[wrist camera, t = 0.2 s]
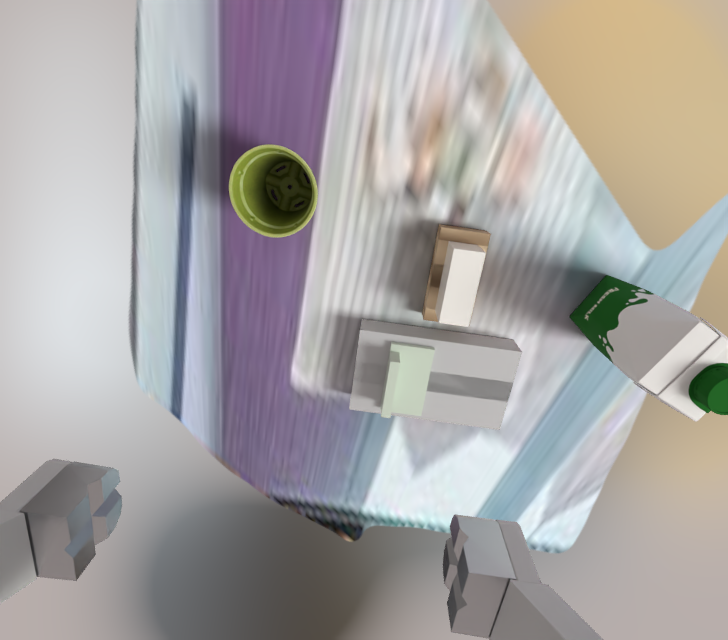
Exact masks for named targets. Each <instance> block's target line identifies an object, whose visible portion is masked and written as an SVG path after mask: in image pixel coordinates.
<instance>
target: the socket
mask: <svg viewBox="0 0 728 640" xmlns="http://www.w3.org/2000/svg"><path fill="white" fill-rule="evenodd" d="M391 342H399V343H406V344H413V345H421V346H428V347H434V348H435V352H434V357H433V361H432V366H431V371H430V376H429V381H428V386H427V390H426V395H425V400H424V405H423V410H422V415H421V416H415V415H408V414H401V413H393V412H391V415H394V416H402V417H409V418H416V419H423V420H431V421H438V422H445V423H453V424H460V425H467V426H474V427H482V428H489V429H496V430H500V427H501V423H502V420H503V416H504V413H505V409H506V406H507V402H508V399H509V396H510V392H511V389H512V385H513V382H514V378H515V375H516V371H517V368H518V364H519V361H520V357H521V354H522V351H521V350H520V348H519V347H518V346H517V344H516V343H515V341H514V340H512V339H505V338H498V337H490V336H483V335H476V334H469V333H461V332H454V331H447V330H439V329H432V328H425V327H418V326H410V325H403V324H396V323H389V322H381V321H374V320H367V319H362V320H361V327H360V334H359V341H358V348H357V356H356V363H355V371H354V378H353V385H352V393H351V400H350V407H349V409H351V410H358V411H365V412H372V413H380V414H381V411H380V407H381V400H382V394H383V388H384V382H385V376H386V370H387V364H388V358H389V352H390V346H391Z"/></svg>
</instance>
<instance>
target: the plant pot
mask: <svg viewBox="0 0 728 640" xmlns="http://www.w3.org/2000/svg"><path fill="white" fill-rule="evenodd" d="M281 166H286V168H284V169H282V170H280V171H279V172H276V170H277V169H278V168H280V167H281ZM303 173H305V174H306V175H307V176H308V178H309V180H310V183H309V184H308V183H307V180H306V178H305V176H304V174H303ZM288 185H291V186H292V188H291V189H289V188H288ZM271 190H273V191H274V193H275V195H276V197H277V198H278V200H275V199H274V198H273V196H272V193H271ZM229 195H230V199H231V203H232V205H233V208H234V209H235V211H236V213H237V215H238V216H239V217H240V219H241V220H242V221H243V222H244V223H245V224H246V225H247V226H248V227H249V228H251V229H252V230H254V231H256V232H257V233H260V234H262V235H265V236H269V237H286V236H289V235H292V234H294V233H296V232H298V231H299V230H301V229H302V228H303V227H304V226H305V225H306V224H307V223H308V222H309V220H310V219H311V217H312V215H313V213H314V211H315V208H316V205H317V198H318V192H317V184H316V180H315V177H314V175H313V173H312V171H311V169H310V167H309V166H308V165H307V163H306V162H305V161H304V160H303V159H302V158H301V157H300V156H299V155H297V154H296V153H295V152H293V151H291V150H289V149H287V148H285V147H282V146H278V145H261V146H257V147H254V148H252V149H250V150H248V151H247V152H245V153H244V154H243V155H242V156H241V157H240V158H239V159H238V160H237V162H236V163H235V165H234V167H233V169H232V172H231V175H230V179H229ZM302 201H304V204H302V205H300V206H299V207H295V205H296V204H299V203H300V202H302Z"/></svg>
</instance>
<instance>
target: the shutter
mask: <svg viewBox="0 0 728 640" xmlns="http://www.w3.org/2000/svg"><path fill="white" fill-rule="evenodd" d="M434 352H435V348H434V347H428V346H421V345H413V344H406V343H399V342H391V346H390V352H389V358H388V364H387V370H386V376H385V382H384V388H383V394H382V400H381V407H380V411H381V417H385V418H390V417H391V412H393V413H401V414H408V415H415V416H421V415H422V410H423V405H424V400H425V395H426V390H427V386H428V381H429V376H430V371H431V366H432V361H433V357H434Z"/></svg>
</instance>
